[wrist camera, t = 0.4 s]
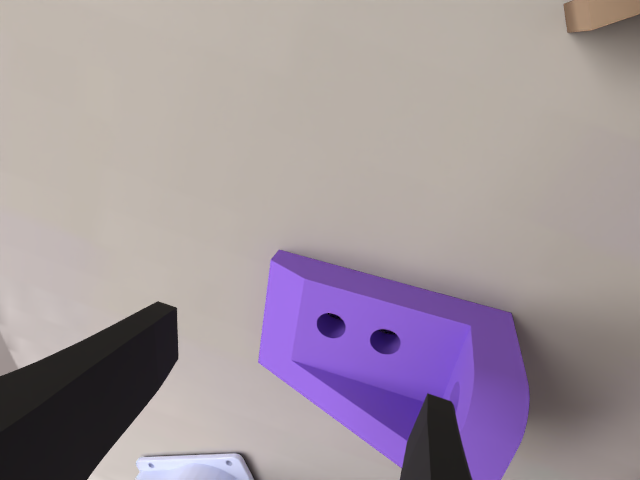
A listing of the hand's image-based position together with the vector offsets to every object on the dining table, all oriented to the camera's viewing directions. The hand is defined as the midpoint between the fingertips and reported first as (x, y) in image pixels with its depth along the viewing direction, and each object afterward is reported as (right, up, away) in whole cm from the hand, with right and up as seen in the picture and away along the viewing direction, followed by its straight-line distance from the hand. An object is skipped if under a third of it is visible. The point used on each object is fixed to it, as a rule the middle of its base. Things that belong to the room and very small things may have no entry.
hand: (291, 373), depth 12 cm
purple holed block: (+4, -1, +12) cm, 13 cm away
